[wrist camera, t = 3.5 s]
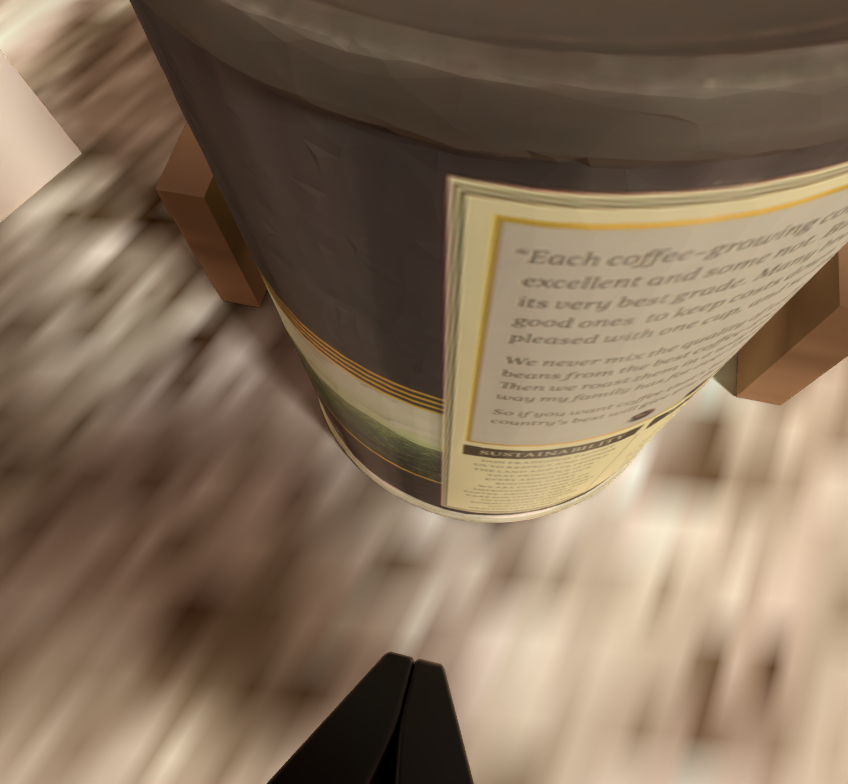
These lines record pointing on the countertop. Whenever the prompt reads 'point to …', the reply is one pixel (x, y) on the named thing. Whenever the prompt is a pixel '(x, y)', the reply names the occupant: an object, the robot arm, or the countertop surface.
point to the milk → (27, 141)
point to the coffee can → (517, 213)
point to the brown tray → (757, 360)
